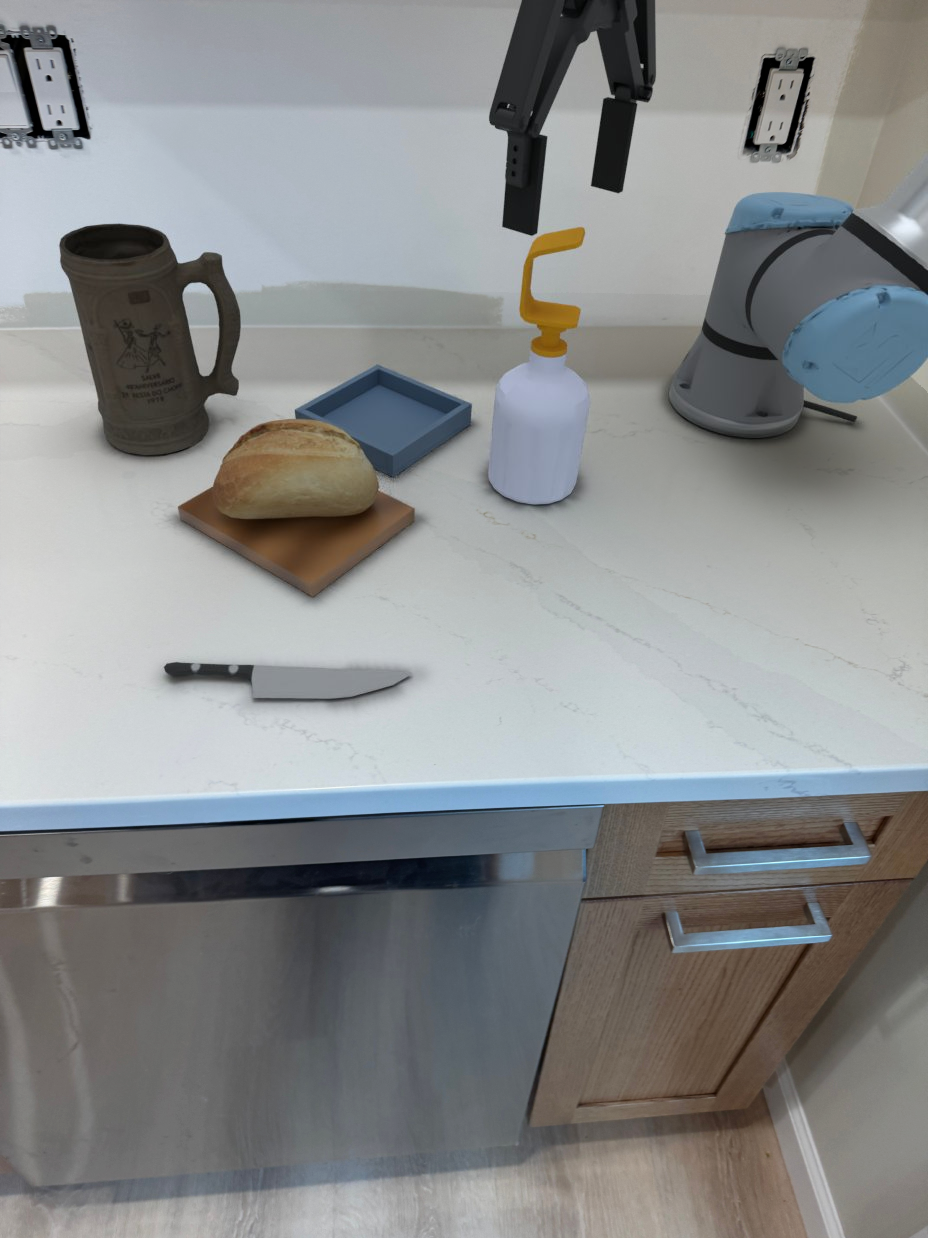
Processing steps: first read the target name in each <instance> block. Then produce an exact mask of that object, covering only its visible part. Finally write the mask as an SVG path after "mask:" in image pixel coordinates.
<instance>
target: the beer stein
mask: <svg viewBox="0 0 928 1238" xmlns="http://www.w3.org/2000/svg"><path fill="white" fill-rule="evenodd" d="M58 247H59V254H60V257H59V263H60V268H61V269H62V271H63V273H64V274H65V275H66V276H67V278H68V282H69V285H70V289H71V293H72V298H73V301H74V303H75V309H76V313H77V316H78V320H79V325H80V328H81V333H82V338H83V342H84V343H83V344H84V347H85V351H86V355H87V359H88V363H89V368H90V371H91V375H92V380H93V383H94V388H95V393H96V397H97V410H98V412H99V414H100V416H101V419H102V424H103V432H104V435H105V439H106V440H107V441H108V442H109V444H110V445H112V446H113V447H114V448H116V449H118V450H119V451H122V452H125V453H129V454H134V455H141V456H156V455H157V456H158V455H166V454H172V453H175V452H179V451H183V450H185V449H187V448H190V447H191V446H193V445H195V444H196V443H199V442H200V441H201V440H202V439H203V438H204V437H205V435H206V434H207V432H208V430H209V428H210V419H209V414H208V412H207V410H206V408H205V403H206V401H207V400H208V399H209V398H210V397H212V396H214V395H217V394H218V395H219V394H220V395H221V394H222V395H228V396H232V397H236V396H238V392H239V389H240V383H239V379H238V378H237V377H236V376H234V374H233V371H232V370H233V365H234V364H233V363H234V360H235V356H236V353H237V349H238V346H239V342H240V338H241V328H242V323H241V321H242V320H241V319H242V318H241V310H240V306H239V303H238V299H237V296H236V293H235V291H234V290H233V288H232V285H231V284H230V281H229V280H228V278H227V276H226V273H225V269H224V265H223V256H222V254H220V253H218V252H214V251H213V252H212V251H204V252H203V253H202V254H201V255H200V256H198V258H196V259H194V260H189V261H186V262H178V259H177V255H176V253H175V252H174V250H173V248H172V246H171V243H170V240H169V237H168V236H167V234H165V233H164V232H162V231H161V230H158V229H156V228H153V227H151V226H146V225H141V224H131V223H130V224H128V223H100V224H92V225H85V226H83V227H80V228H77V229H74V230H71V231H69V232H68V233H66V234H63V236H62V237H61V238H60V241H59V244H58ZM197 283H200V284H203V285H205V286H206V287H207V288H208V289H209V290H210V291H211V293H212V294H213V297H214V300H215V305H216V308H217V315H218V341H217V342H218V343H217V348H216V356H215V360H214V365H213V368H212V371H211V372H210V374H209V375H202V374H201V372H200V368H199V364H198V361H197V357H196V353H195V349H194V348H195V347H194V344H193V339H192V336H191V329H190V324H189V320H188V316H187V311H186V307H185V303H184V296H183V295H184V291H185V289H186V288H187V287H188V286H189V285H190V284H197Z"/></svg>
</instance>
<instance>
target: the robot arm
mask: <svg viewBox="0 0 928 1238" xmlns="http://www.w3.org/2000/svg"><path fill="white" fill-rule="evenodd" d="M519 5H520V6H519V9H518V12H517V16H516V19H515V23H514V26H513V29H512V32H511V37H510V40H509V44H508V47H507V50H506V55H505V57H504V62H503V64H502V68H501V72H500V75H499V78H498V82H497V86H496V89H495V92H494V96H493V98H492V99H493V100H492V103H491V106H490V109H489V113H488V121H489V124H490V126H494V128H495V129H496V130H499V131H502V132H503V131H504V132H506V134H507V144H506V145H507V147H506V162H505V173H504V179H505V180H504V181H505V183H504V184H505V185H504V198H503V210H502V221H501V227H502V228H504V229H508V230H510V231H514V232H517V233H520V234H524V235H528V236H531V237H533V236H535V235H537V234H538V231H539V230H538V229H539V221H540V211H541V201H542V192H543V183H544V173H545V164H546V153H547V146H548V145H547V144H548V135H544V134H541V131H542V130H543V128H544V125H545V122H546V121H547V118H548V116H549V114H550V111H551V109H552V106H553V104H554V102H555V100H556V98H557V95H558V94H559V90H560V88H561V86H562V83H563V81H564V79H565V77H566V74H567V72H568V70H569V68H570V66H571V64H572V61H573V58H574V56H575V55H576V52H577V49H578V47H579V46H580V45H581V44H583V43H585V42H586V41H587V40H588V39H589V37H590V35H591V33H594V32H596V36H597V39H598V40H597V41H598V43H599V48H600V53H601V58H602V62H603V66H604V71H605V74H606V79H607V84H608V88H609V92H610V95H611V96H614V97H609V96H606V97H604V98H603V99H602V105H601V113H600V119H599V125H598V133H597V140H596V148H595V154H594V161H593V167H592V176H591V182H590V187H593V188H596V189H599V190H603V191H608V192H612V193H615V194H620V193H623V191H624V187H625V181H626V180H625V179H626V173H627V168H628V161H629V157H630V151H631V144H632V139H633V133H634V127H635V121H636V115H637V109H638V103H637V102H642V103H647V104H648V103H649V102H650V101H651V99H652V97H653V94H654V93H653V92H654V88H653V86H654V85H655V83H656V78H657V35H656V34H657V33H656V27H657V26H656V25H657V23H656V0H521V2H520V4H519ZM724 235H725V236H724V240H723V244H722V248H721V252H720V256H719V260H718V264H717V266H716V267H717V268H716V272H715V276H714V279H713V284H712V286H711V287H712V288H711V291H710V295H709V299H708V303H707V307H706V310H705V315H704V317H703V318H704V319H703V323H702V326H701V330H700V332H699V334H698V336H697V337H696V339H695V341H694V343H693V344H692V346H691V347H690V348H689V350H688V351H687V353H686V354H685V356H684V357H683V359H682V361H681V363H680V365H679V366H678V367H677V369H676V371H675V372H674V374H673V375H672V380H671V383H670V387H669V391H668V398H669V402H670V403H671V406H672V407H673V409H675V411H676V412H678V414H679V415H681V416H682V417H684V418H685V419H686V420H688V421H689V422H691V423H692V424H695V425H697V426H698V427H700V428H703V429H705V430H709V431H711V432H713V433H718V434H722V435H724V436H731V437H736V438H746V439H762V438H763V439H764V438H771V437H776V436H779V435H782V434H784V433H787V432H789V431H790V430H792V429H793V428H794V427H795V426H796V425H797V423H798V421H799V418H800V416H801V414H802V410H803V408H806V409H808V410H812V411H816V412H819V413H822V414H826V415H830V416H832V417H835V418H839V419H842V420H845V421H849V422H851V423H856V421H857V419H858V416H857V415H854V414H851V413H848V412H845V411H842V410H840V409H839V410H838V409H836V408H832V407H830V406H825V405H822V404H818V403H816V402H812V401H808V400H805V399H804V398H805V390H806V391H807V392H809V393H810V394H811V395H812V396H814V397H815V398H817V399H819V400H822V401H825V402H828V403H833V404H853V403H855V402H857V401H861V400H862V401H868V400H872V399H875V398H878V397H880V396H882V395H885V394H886V393H888V392H891V391H893V390H894V389H896V388H897V387H899V386H901V384H903V383H904V382H906V381H907V380H908V379H910V378H911V377H912V376H913V375H914V374H916V372H918V370H920V368H921V367H922V366H923V365H924V364H925V362H926V361H927V360H928V150H927V151H926V152H925V153H924V155H923V156H922V157H921V158H920V159H919V160H918V162H917V163H915V165H914V166H913V167H912V168H911V170H910V171H909V172H908V173H907V174H906V175H905V177H903V179H902V180H901V181H900V182H899V183H898V184H897V186H895V188H894V189H893V191H891V192H890V194H889V195H888V196H887V197H886V198H885V200H884V201H882V202H880V203H878V204H875V205H871V206H865V207H860V208H854V207H853V206H852V205H851V204H850V203H849V202H845V201H843V200H840V199H837V198H833V197H829V196H823V195H817V194H810V193H800V192H799V193H798V192H785V191H769V192H767V191H765V192H757V193H752V194H748V195H746V196H744V197H742V198H741V199H740V200H739V201H738V202H737V203H736V205H735V207H734V209H733V211H732V214H731V217H730V220H729V222H728V225H727V227H726V229H725V232H724Z"/></svg>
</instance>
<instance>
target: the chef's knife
mask: <svg viewBox="0 0 928 1238" xmlns="http://www.w3.org/2000/svg"><path fill="white" fill-rule="evenodd" d="M163 669H164V672H165V674H168V676H171V677H173V678H180V677H188V676H189V677H190V676H215V677H217V676H218V677H225V678H235V679H247V680H249V681H250V682H251V691H252V692H251V693H252V699H321V700H322V699H323V700H325V699H326V700H327V699H328V700H329V699H331V700H332V699H341V698H342V699H343V698H351V697H355V696H359V695H362V694H367V693H369V692H373V691H377V690H381V689H384V688H387V687H391V686H394V685H396V684H398V683H399V682H401V681H403V680H405V679H406V678H408V677H409V676H411V675H413V674H414V673H413V672H404V671H394V670H393V671H392V670H391V671H390V670H375V669H360V668H359V669H356V668H355V669H354V668H336V667H335V668H333V667H311V666H310V667H309V666H289V665H288V666H285V665H260V664H226V663H201V662H200V663H199V662H179V661H174V662H168V663H165V665H164V666H163Z"/></svg>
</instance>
